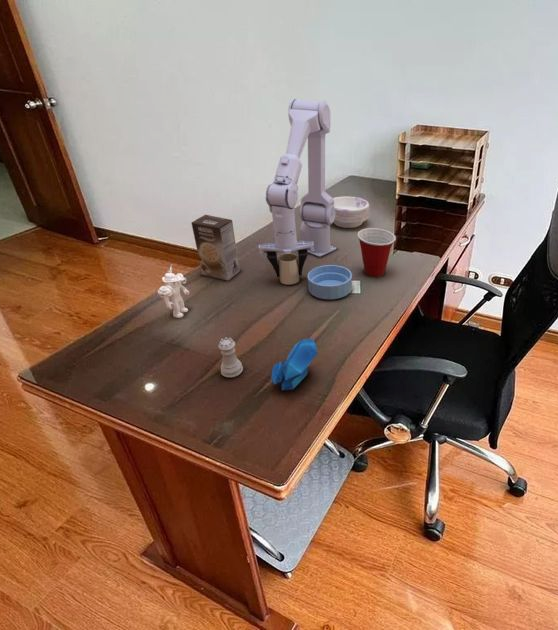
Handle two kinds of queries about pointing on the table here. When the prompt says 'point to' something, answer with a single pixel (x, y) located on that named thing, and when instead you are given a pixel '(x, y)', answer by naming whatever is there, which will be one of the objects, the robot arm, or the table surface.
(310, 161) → the robot arm
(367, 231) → the plastic cup
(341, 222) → the paper bowls
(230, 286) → the table surface
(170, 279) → the flower shoulder figurine
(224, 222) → the coffee box
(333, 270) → the bowl
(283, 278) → the cup
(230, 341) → the rook chess piece
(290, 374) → the crystal
